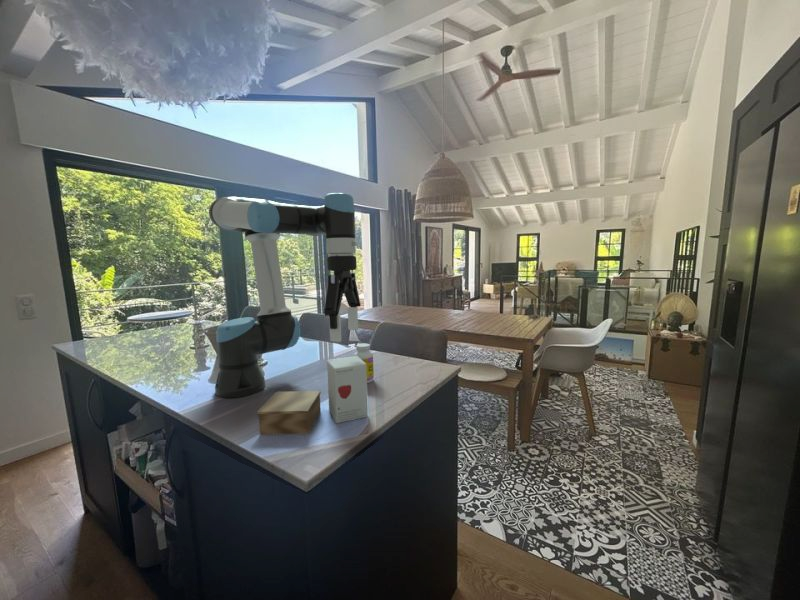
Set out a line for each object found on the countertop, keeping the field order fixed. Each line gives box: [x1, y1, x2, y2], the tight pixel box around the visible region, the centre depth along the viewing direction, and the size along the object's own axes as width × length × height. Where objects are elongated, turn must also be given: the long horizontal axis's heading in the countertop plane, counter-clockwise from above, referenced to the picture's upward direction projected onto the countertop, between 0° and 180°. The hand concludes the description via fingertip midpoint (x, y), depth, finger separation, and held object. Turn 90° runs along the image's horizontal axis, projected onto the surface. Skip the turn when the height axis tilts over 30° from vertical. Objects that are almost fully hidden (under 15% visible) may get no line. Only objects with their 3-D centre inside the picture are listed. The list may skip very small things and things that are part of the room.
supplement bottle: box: [353, 342, 374, 384], centre depth 118 cm, size 7×7×13 cm
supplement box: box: [326, 355, 369, 424], centre depth 93 cm, size 9×9×15 cm
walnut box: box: [256, 390, 322, 435], centre depth 89 cm, size 12×12×6 cm
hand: (345, 335), depth 91 cm, fingers open, 13 cm apart
